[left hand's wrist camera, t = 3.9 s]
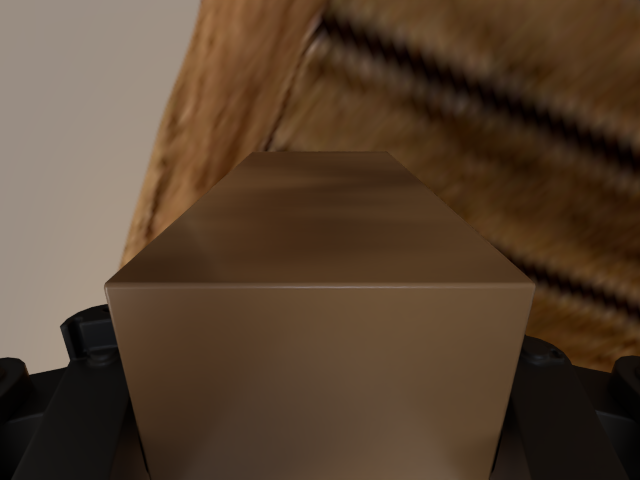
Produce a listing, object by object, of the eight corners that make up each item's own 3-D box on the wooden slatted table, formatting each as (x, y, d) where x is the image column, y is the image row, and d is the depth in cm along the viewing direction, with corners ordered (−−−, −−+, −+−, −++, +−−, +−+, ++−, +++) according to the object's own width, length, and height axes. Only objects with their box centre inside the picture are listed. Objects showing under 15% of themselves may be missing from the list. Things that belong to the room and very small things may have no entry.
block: (388, 151, 15) (539, 284, 5) (377, 304, 18) (460, 607, 7) (251, 151, 15) (100, 284, 5) (262, 304, 18) (179, 607, 7)
